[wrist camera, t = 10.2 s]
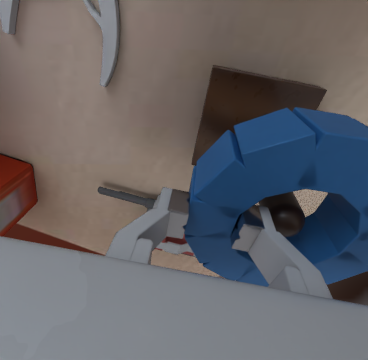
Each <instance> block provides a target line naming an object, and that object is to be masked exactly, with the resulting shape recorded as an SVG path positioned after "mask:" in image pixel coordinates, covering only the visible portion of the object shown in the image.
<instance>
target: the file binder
mask: <svg viewBox="0 0 368 360" xmlns="http://www.w3.org/2000/svg"><path fill="white" fill-rule="evenodd" d="M36 202H37V194H36V187H35V180H34V174H33V167H32V166H31V165H30V164H27V163H24V162H21V161H18V160H15V159H12V158H9V157H6V156H3V155H0V236H2V237H3V236H4V235H5V234H6V233H7V232H8V231H9V230H10V229H11V228H12V227H13V226H14V225H15V224H16V223H17V222H18V221H19V220H20V219H21V218H22V217H23V216H24V215H25V214H26V213H27V212H28V211H29V210H30V209H31V208H32V207H33V206H34V205H35V204H36Z"/></svg>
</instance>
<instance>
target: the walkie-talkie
mask: <svg viewBox="0 0 368 360" xmlns="http://www.w3.org/2000/svg"><path fill="white" fill-rule="evenodd" d="M98 192H99V193H100V194H104V195H107V196H111V197H115V198H118V199H122V200H126V201H129V202H133V203H137V204H140V205H144V206H145V207H147V208H148V209H147V212H148V211H149V210H151V209H152V208H156V207H157V204H158V200H159V197H160V196H159V195H158V197H157V200H154V199H150V198H143V197H140V196H136V195H132V194H129V193H125V192H121V191H119V192H118V191H114V190H111V189H107V188H103V187H99V188H98ZM155 249H158V250H164V251H165V252H169V253H173V254H180V253H181V254H186V255H189V256H193V257H196V256H195V254H194V253H193V251H192V250H191V248H190V246H189V245H188V243H187V241H186V240H185V234H184V236H183V239H180V238H174V237H168V236H166V238H165V239H164V240H163V241H162V242H161V243H160V244H159V245H158V246H157V247H156V248H155Z"/></svg>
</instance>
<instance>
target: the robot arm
mask: <svg viewBox="0 0 368 360" xmlns="http://www.w3.org/2000/svg"><path fill="white" fill-rule="evenodd" d="M190 196H191V193H190V192H186V191H181V190H177V189H171V188H167V187H163V188H162V191H161V194H160V197H159V200H158V204H157V207H156V208H152V209H151V210H149V211H148V212H146V213H145V214H143V215H142V216H140V217H139V218H137V219H136V220H134V221H133V222H131V223H130V224H128V225H127V226H125V227H124V228H122V229H121V230H119V231H118V232H116V234H115V236H114V238H113V241H112V243H111V245H110V247H109V249H108V251H107V253H106V255H105V256H102V255H97V254H92V253H86V252H81V251H75V250H71V249H65V248H60V247H55V246H49V245H44V244H39V243H34V242H28V241H23V240H17V239H12V238H7V237H2V236H0V360H368V306H366V305H360V304H355V303H350V302H345V301H340V300H334V299H333V298H332V296H331V294H330V292H329V290H328V287H327V285H326V283H325V281H324V279H323V277H322V274H321V272H320V271H319V270H318V269H317V268H316V267H315V266H314V265H313V264H312V263H311V262H310V261H309V260H308V259H307V258H306V257H305V256H304V255H302V254H301V253H300V252H299V251H298V250H297V249H296V248H295V247H294V246H293V245H292V244H291V243H290V242H289V241H288V240H287V239H286V238H285V237H284V236H283V235H282V234H281V233H280V232H276V229H275V226H274V223H273V220H272V217H271V215H270V212H269V209H268V208H267V207H265V206H259V205H253V206H252V207H251V208H249V209H248V210H246V211H245V212H243V213H242V214H240V215H239V217H238V219H237V222H236V224H235V226H234V229H233V231H232V235H231V237H230V238H231V247H232V249H237V250H241V251H246V252H248V254H249V255H250V257H251V258H252V260H253V261H254V263H255V264H256V266H257V267H258V269H259V270H260V272H261V273H262V275H263V276H264V278H265V279H266V281H267V282H268V284H269V286H268V287H265V286H260V285H255V284H250V283H244V282H239V281H234V280H229V279H223V278H218V277H213V276H208V275H202V274H197V273H192V272H187V271H181V270H176V269H171V268H165V267H160V266H155V265H151V256H152V251H153V250H154V249H155V248H156V247H157V246H158V245H159V244H160V243H161V242H162V241H163V240H164V239H165V238H166V236H168V237H174V238H180V239H183V236H184V232H185V226H186V224H187V220H188V216H189V210H190V203H189V202H190Z"/></svg>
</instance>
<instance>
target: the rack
mask: <svg viewBox="0 0 368 360" xmlns="http://www.w3.org/2000/svg"><path fill="white" fill-rule="evenodd" d="M326 91H327V90H325V89H323V88H321V87H319V86H314V85H309V84H304V83H299V82H294V81H289V80H284V79H279V78H275V77H270V76H265V75H260V74H255V73H250V72H245V71H240V70H235V69H230V68H225V67H220V66H215V65H213V67H212V71H211V76H210V80H209V85H208V89H207V94H206V99H205V103H204V108H203V112H202V117H201V121H200V126H199V131H198V135H197V140H196V144H195V149H194V153H193V158H192V165H195V166H196V165H197V160H198V159H199V158H200V157H201V156H202V155H203V154H204V153H205V152H206V151H207V150H208V149H209V148H210V147H211V146H212V145H213V144H214V143H215V142H216V141H217V140H218V139H219V138H220V137H221V136H222V135H223V134H224V133H225V132H226V131H227V130H230V131H231V132H232V133H234V134H235V130H234V125H237V124H240V123H243V122H246V121H249V120H252V119H254V118H257V117H260V116H263V115H266V114H269V113H272V112H275V111H278V110H281V109H284V108H288V109H289V110H291V111H292V112H293V109H294V108H295V107H299V108H305V109H311V110H316V109H317V108H318V106H319V104H320V102H321V100H322V99H323V97H324V95H325V93H326ZM235 135H236V134H235ZM259 205H260V206H265V207H267V208H268V209H269V212H270V215H271V217H272V220H273V223H274V226H275V229H276V232H280V233H281V234H282V235H283V236H284V237H291V236H294V235H296V234H298V233H299V232H300V231H301V230H302V229H303V227H304V224H305V215H304V213H303V210H302V209H301V207H300V205H299V203H298V201H297V199H296V197H295V195H294V193H293V192H288V193H283V194H279V195H274V196H270V197H265V198H264V199H262V200H261V201H259Z"/></svg>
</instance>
